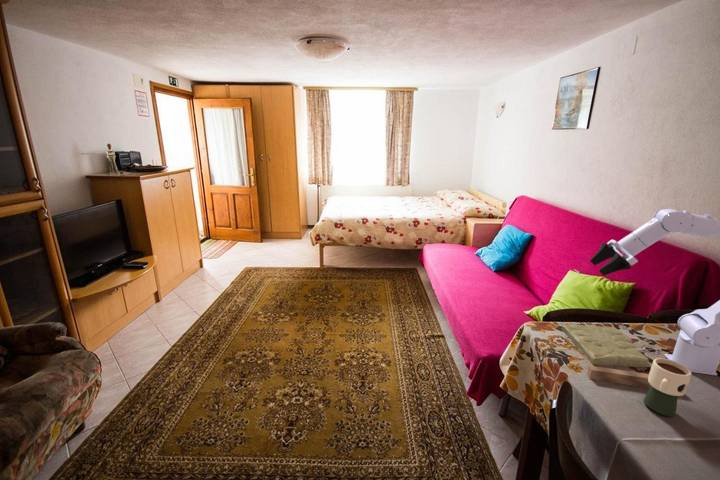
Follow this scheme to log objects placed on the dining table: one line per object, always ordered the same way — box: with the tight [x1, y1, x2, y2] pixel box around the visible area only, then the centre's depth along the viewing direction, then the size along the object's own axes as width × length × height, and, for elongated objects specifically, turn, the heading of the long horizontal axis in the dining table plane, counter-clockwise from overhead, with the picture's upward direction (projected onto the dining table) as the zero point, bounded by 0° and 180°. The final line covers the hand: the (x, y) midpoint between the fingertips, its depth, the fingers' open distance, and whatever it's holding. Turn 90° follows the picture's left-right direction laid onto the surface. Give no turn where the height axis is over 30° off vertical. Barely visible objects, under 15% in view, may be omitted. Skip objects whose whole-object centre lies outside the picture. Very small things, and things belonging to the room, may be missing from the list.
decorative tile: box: [561, 324, 651, 368], centre depth 111 cm, size 19×20×4 cm
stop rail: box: [586, 365, 651, 389], centre depth 94 cm, size 22×2×3 cm, turn 76°
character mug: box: [643, 357, 693, 417], centre depth 84 cm, size 11×7×13 cm, turn 127°
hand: (596, 267), depth 104 cm, fingers open, 7 cm apart
